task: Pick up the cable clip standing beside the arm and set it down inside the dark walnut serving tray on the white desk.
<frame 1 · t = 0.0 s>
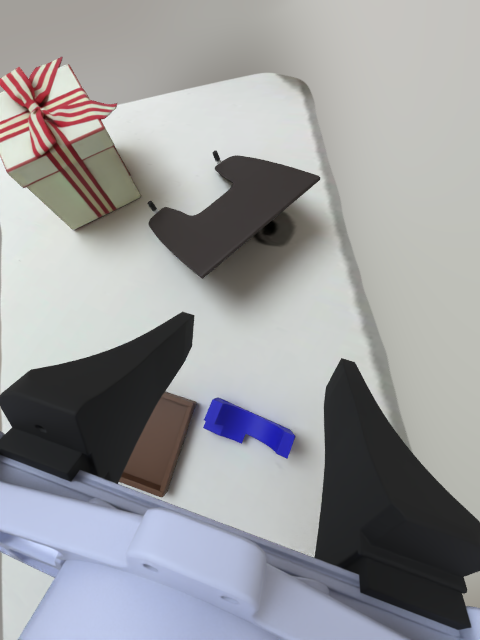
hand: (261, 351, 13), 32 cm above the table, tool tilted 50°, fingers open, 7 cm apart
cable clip: (247, 427, 43), on the table
tray: (133, 428, 44), on the table
gift box: (99, 181, 55), on the table
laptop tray: (221, 221, 52), on the table
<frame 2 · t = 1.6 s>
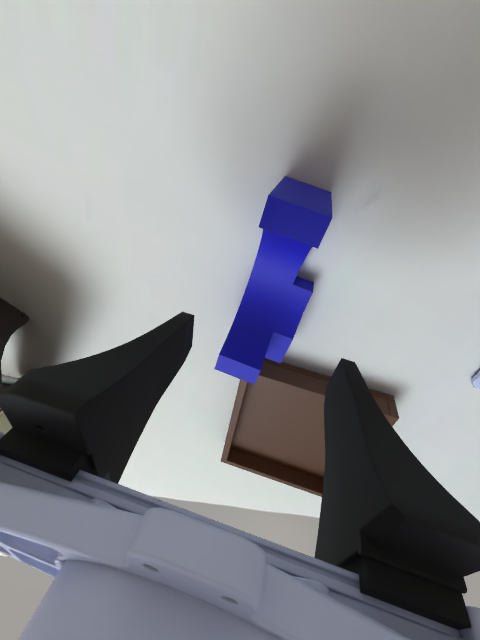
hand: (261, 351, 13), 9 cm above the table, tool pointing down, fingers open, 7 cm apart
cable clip: (285, 270, 21), on the table
tray: (294, 424, 30), on the table
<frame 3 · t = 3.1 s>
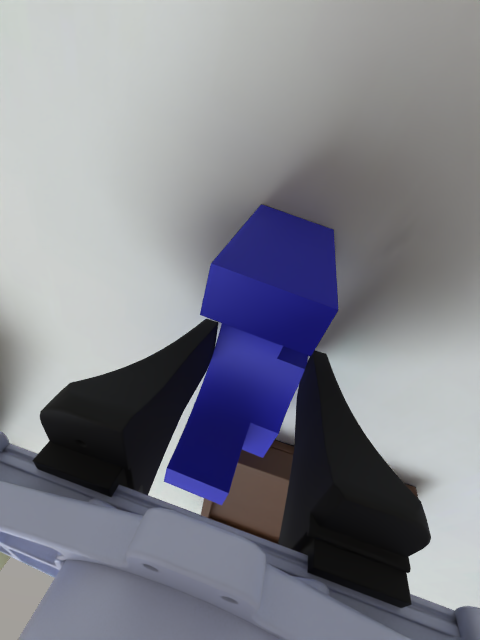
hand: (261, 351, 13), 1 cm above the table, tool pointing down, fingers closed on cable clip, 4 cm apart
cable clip: (268, 332, 15), on the table, touching gripper
tray: (285, 501, 24), on the table
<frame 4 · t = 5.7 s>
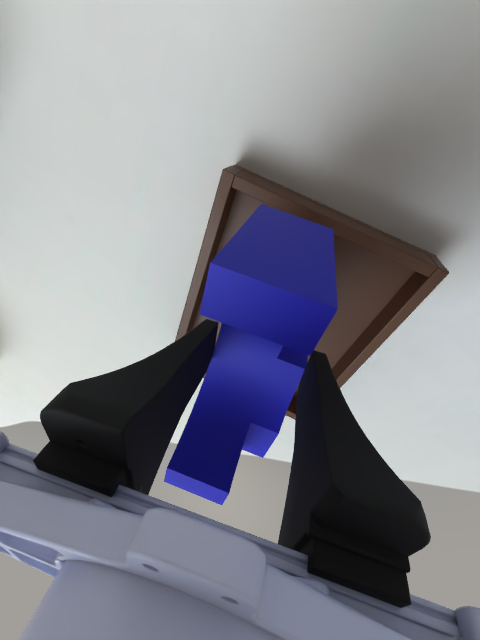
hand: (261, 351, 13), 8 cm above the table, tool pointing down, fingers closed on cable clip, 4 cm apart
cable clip: (268, 331, 15), point 7 cm above the table, touching gripper
tray: (279, 311, 22), on the table
when the fingers open (2 cm above the table, at t = 8.1 s): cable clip stays where it is, resting on tray.
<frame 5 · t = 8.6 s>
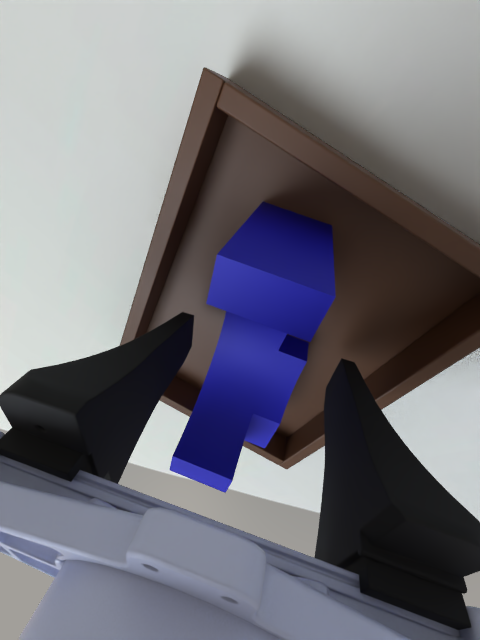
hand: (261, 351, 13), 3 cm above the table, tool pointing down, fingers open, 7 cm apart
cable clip: (269, 326, 15), resting on tray
tray: (269, 321, 16), on the table
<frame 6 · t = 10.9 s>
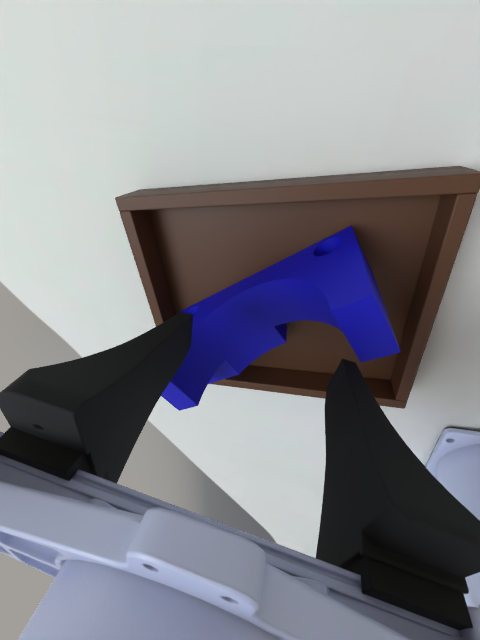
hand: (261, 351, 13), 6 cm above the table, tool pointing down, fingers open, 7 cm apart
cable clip: (270, 301, 18), point 1 cm above the table, touching gripper, tray
tray: (278, 293, 18), on the table
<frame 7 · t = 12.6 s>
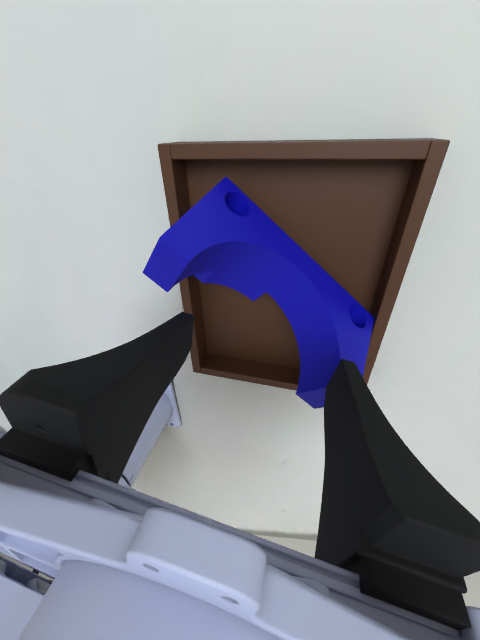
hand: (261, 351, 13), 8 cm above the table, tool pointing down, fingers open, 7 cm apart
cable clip: (282, 269, 18), point 1 cm above the table, touching tray
tray: (282, 279, 19), on the table
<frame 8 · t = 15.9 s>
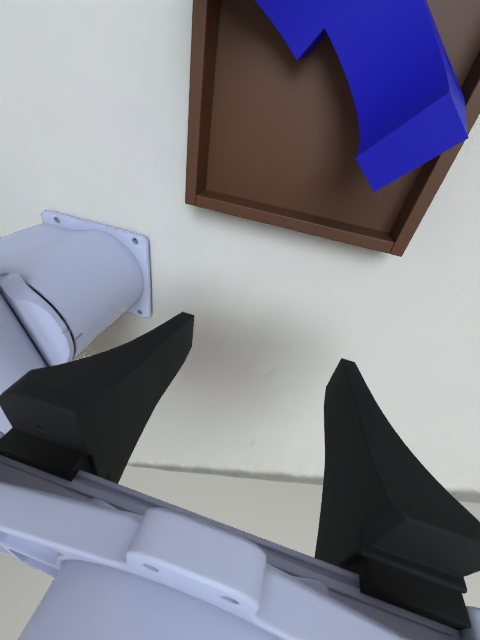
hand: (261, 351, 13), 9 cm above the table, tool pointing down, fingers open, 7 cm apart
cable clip: (350, 8, 12), point 1 cm above the table, touching tray
tray: (337, 52, 14), on the table
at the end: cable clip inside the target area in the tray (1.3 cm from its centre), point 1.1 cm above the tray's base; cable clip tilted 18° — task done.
